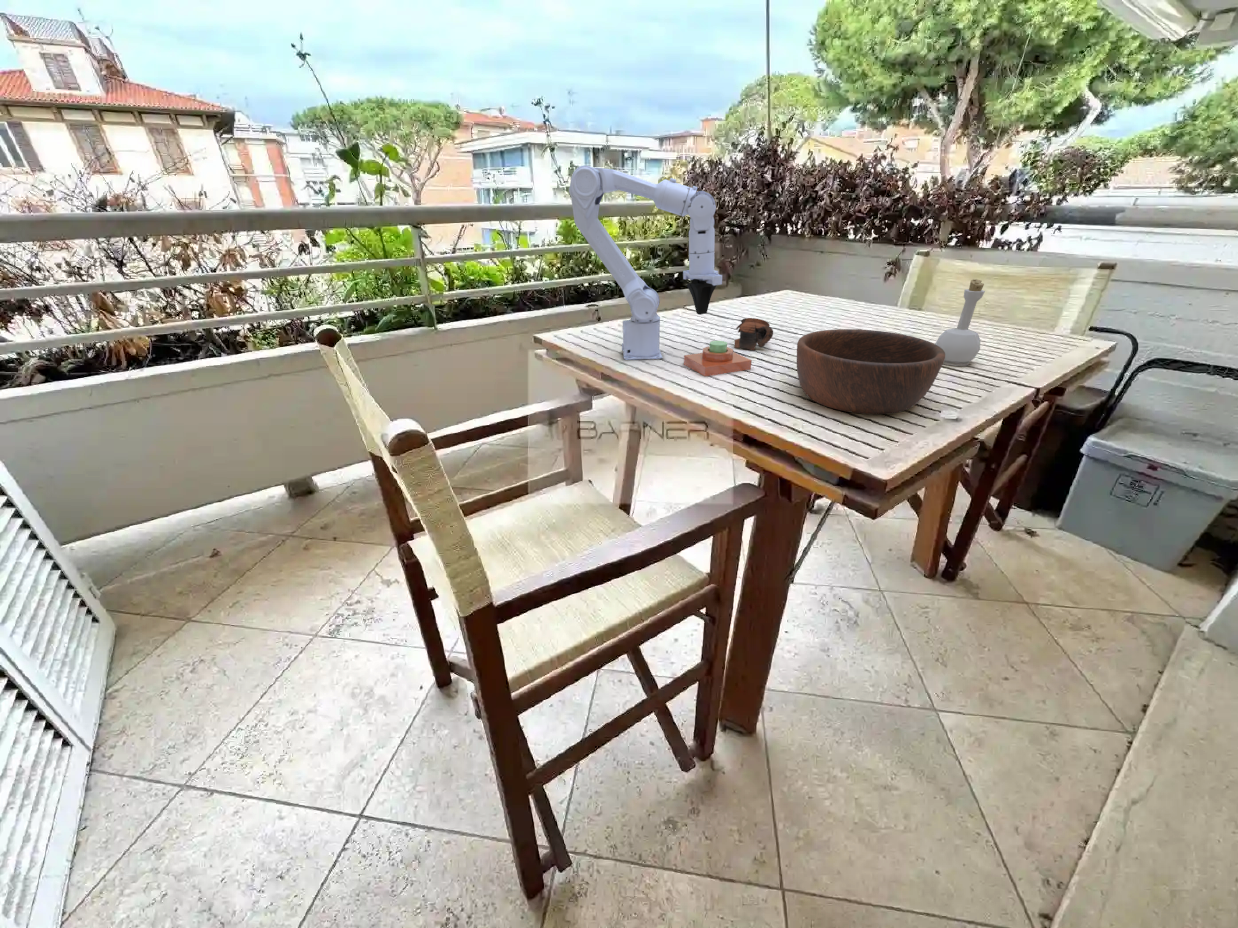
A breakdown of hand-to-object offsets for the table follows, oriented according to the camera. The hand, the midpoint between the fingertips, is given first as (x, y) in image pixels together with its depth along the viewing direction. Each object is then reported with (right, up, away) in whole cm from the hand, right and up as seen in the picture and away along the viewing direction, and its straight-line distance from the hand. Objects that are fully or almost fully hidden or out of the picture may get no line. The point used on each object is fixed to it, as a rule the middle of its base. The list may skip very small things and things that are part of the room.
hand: (701, 313), depth 116 cm
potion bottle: (+58, -12, -3) cm, 59 cm away
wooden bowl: (+27, -23, -21) cm, 41 cm away
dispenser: (+3, -13, -3) cm, 14 cm away
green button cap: (+3, -10, -4) cm, 11 cm away
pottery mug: (+16, -5, +12) cm, 20 cm away
